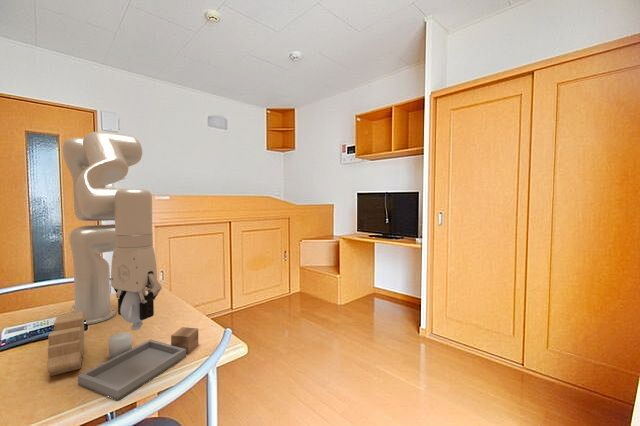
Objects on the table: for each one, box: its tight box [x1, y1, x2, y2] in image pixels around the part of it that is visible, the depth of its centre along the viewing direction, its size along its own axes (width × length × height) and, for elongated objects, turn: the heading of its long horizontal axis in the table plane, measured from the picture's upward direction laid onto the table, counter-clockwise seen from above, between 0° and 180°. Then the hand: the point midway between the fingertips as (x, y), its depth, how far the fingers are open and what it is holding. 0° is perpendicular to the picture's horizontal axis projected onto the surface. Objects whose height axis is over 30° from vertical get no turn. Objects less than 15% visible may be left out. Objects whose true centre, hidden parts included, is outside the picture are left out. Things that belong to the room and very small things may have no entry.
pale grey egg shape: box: [108, 331, 133, 360], centre depth 78 cm, size 5×5×5 cm
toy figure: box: [120, 291, 148, 331], centre depth 70 cm, size 11×6×12 cm, turn 19°
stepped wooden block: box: [46, 311, 85, 377], centre depth 74 cm, size 6×17×10 cm, turn 36°
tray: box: [77, 339, 187, 402], centre depth 71 cm, size 13×18×2 cm
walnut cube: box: [170, 326, 199, 355], centre depth 82 cm, size 5×5×5 cm
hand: (136, 314), depth 71 cm, fingers closed on toy figure, 6 cm apart
